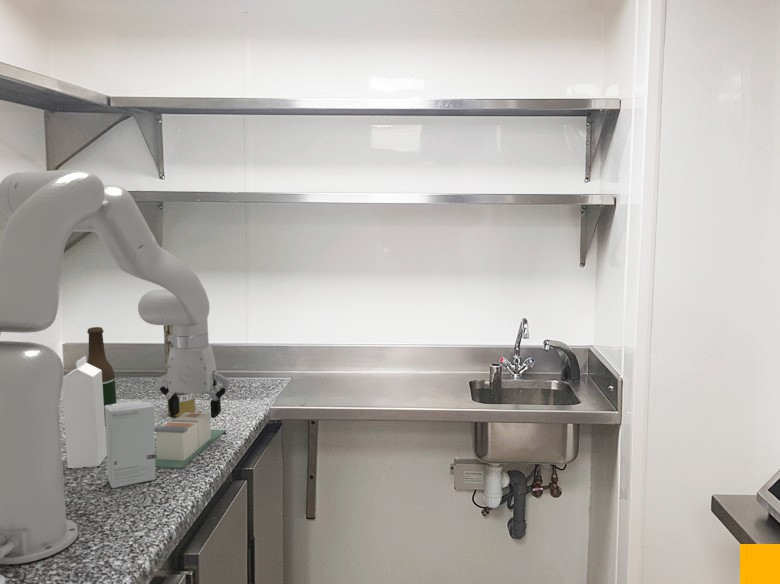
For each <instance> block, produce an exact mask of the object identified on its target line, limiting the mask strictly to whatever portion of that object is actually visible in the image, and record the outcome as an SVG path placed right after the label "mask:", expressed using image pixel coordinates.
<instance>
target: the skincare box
mask: <svg viewBox="0 0 780 584" xmlns="http://www.w3.org/2000/svg"><path fill="white" fill-rule="evenodd" d="M105 423H106V426H105V433H106V454H107V457H106V477H107V481H108V483H109V486H110V489H117V488H120V487H126V486H131V485H136V484H139V483H145V482H151V481H155V480H156V479H157V478H156V468H155V457H156V449H155V448H156V446H155V445H156V432H154V428H155V427H156V426H155V406H154V405H153V403H151V401H149V400H140V401H126V402H120V403H116V404H111V405H105Z"/></svg>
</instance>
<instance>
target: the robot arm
mask: <svg viewBox="0 0 780 584" xmlns="http://www.w3.org/2000/svg"><path fill="white" fill-rule="evenodd" d="M0 211H1V212H2V213H3V214H4V215H5V216H6V217H7V218H8V221H7V223H6V225H5V227H4V229H3V232H2V234H1V239H0V335H1V333H20V334H21V333H23V334H24V333H28V334H29V333H38V332H42V331H45V330H46V329H48V328H50V327H51V326H52V325H53V324H54V322H55V321H56V317H57V314H58V309H59V303H60V302H59V300H60V290H61V278H62V269H63V258H64V252H65V247H66V244H67V242H68V240H69V238H70V237H71V235H72V233H76V232H77V233H78V232H79V233H82V232H83V233H84V232H86V233H87V232H88V233H89V232H91V233H96V235H97V236H98V238H99V239H100V240H101V242H102V243H103V245H104V246H105V248H106V249H107V251H108V253H109V254H110V256H111V258H112V259H113V261H114V263H115V264H116V266H117V267H118V268H119V269H120V270H121V271H123V272H124V273H126V274H129V275H131V276H133V277H134V278H138V279H141V280H144V281H147V282H150V283H151V284H155V285H157V286H159V287H162V288H163V289H153V290H150V291H148V292H146V293H144V294H143V295H142V296H141V297H140V299H139V301H138V303H137V312H138V315H139V317H140V319H142V321H144V322H145V323H147V324H149V325H153V326H164V325H169V326H171V325H172V330H173V334H172V336H168V342H172V344H173V347H172V348H170V351H169V357H168V368H167V374H166V373H165V374H164V375H161V376H160V377H158V378H155V379H156V380H155V382H156V384H157V386H158V388H159V391H160V393H162V394H163V395H164V396H165V397H164V398H165V399H166V400H167V399H168V403H167V407H168V406H169V412H170V415H169V416H170V417H172V418H173V416H175V415H176V414H178V413H179V412H180V411H179V397H178V396H176V394H177V393H194V394H195V395H197V394H207V395H208V396H209V397H210V398H211V400H210V405H209V406H210V418H212V419H216V418H217V417H218V416H219V415H220V413H221V411H222V405H221V402H222V401H221V398H222V397H223V396H224V395H225V393H227V391H228V389H229V387H230V385H231V383H232V380H231V379H230V378H229V377H226V376H225V375H223V374H220V373H219V372H218V371H217V365H216V359H215V355H214V350H213V348H212V346H211V345H210V344H209V326H208V317H209V314H210V308H211V307H210V302H209V298H208V295H207V292H206V289H205V288H204V286H203V284H202V282H201V281H200V280H201V279H200V278H199V277H198V275H197V274H196V272H195V271H194V270H193V269H191V267H189V266H188V265H187V264H185V263H184V262H183V261H182V260H180V259H179V258H178V257H177V256H175V255H173V254H172V253H170V251H167V250H166V249H165V248H162V247H161V246H160V245H159V244H158V241H157V240H156V238H155V236H154V234H153V232H152V231H151V229H150V227H149V225H148V223H147V222H146V219H145V218H144V216H143V214H142V213H141V211H140V208H139V206H138V205H137V203H136V201H135V200H134V197H132V195H131V194H130V192H129V191H128V190H126V189H125V188H124V187H121V186H118V185H115V184H113V185H112V184H104V183H103V181H102V180H101V178H100V177H98V176H97V175H96V174H94V173H92V172H89V171H85V170H81V169H80V170H79V169H57V170H56V169H55V170H41V171H38V170H37V171H21V172H13V173H11V174H9V175H7V176H5V177H4V178H3V179H2V180H1V181H0ZM64 373H65V372H64V365H63V362H62V359H61V357H60V356H59V355H58V353H57V352H56V351H55V350H54V349H52V348H51V347H49V346H46V345H43V344H41V343H36V342H30V341H10V340H2V341H1V340H0V565H20V564H25V563H26V564H27V563H31V562H36V561H39V560H43V559H45V558H48V557H51V556H53V555H55V554H57V553H60V552H61V551H63V550H65V549H66V548H68V547H69V546H70V545H71V544H73V543H74V542H75V541H76V540H77V538H78V536H79V528H78V524H77V523H76V522H75V521H73V520H71V519H68V518H67V514H66V512H67V511H66V497H65V480H64V470H63V468H64V467H63V454H62V451H63V450H62V440H61V427H60V426H61V425H60V423H61V422H60V407H61V406H60V405H61V397H62V396H61V395H62V384H63V377H64V376H65V375H64ZM166 380H167V385H168V386H167V385H166ZM218 383H220V384H221V387H220V389H219V388H218V387H217V386H218Z"/></svg>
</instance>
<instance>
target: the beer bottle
mask: <svg viewBox="0 0 780 584" xmlns="http://www.w3.org/2000/svg"><path fill="white" fill-rule="evenodd" d="M86 333H87V334H88V355H87V356H88V357H87V360H86V362H87V363H88V364H90V365H92V366H94V367H96V368H98V369H100V370H102V384H103V400H104V417H105V405H111V404H117V393H116V390H117V389H116V378H115V371H114V369H113V367H112V365H111V364H110V362H109V361H108V360H107V356H106V351H105V344H104V335H103V333H104V329H103V327H101V326H100V327H99V326H93V327H88V328H87V332H86ZM105 425H106V423H105Z"/></svg>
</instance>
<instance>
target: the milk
mask: <svg viewBox="0 0 780 584" xmlns="http://www.w3.org/2000/svg"><path fill="white" fill-rule="evenodd" d="M75 365H76V368H75V369H73V370H72V371H70V372H69V373H67V374H66V375H64V376H63V384H62V390H61V392H62V401H63V402H62V403H63V419H64V434H65V450H66V462H67V464H66V466H67V469H68V468H72V469H84V468H83V467H87V468H98V467H97V466H99V467H100V466H101V464H102V463H103V462H104V460H105V459H106V458H107V457H106V456H107V454H106V426H105V417H104V400H103V384H102V370H100V369H98V368H96V367H94V366H92V365H90V364H88V363H87V356H86V355H84V356H83V357H81V358H80V359H77V361H76V362H75ZM105 457H106V458H105ZM102 461H103V462H102Z"/></svg>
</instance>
